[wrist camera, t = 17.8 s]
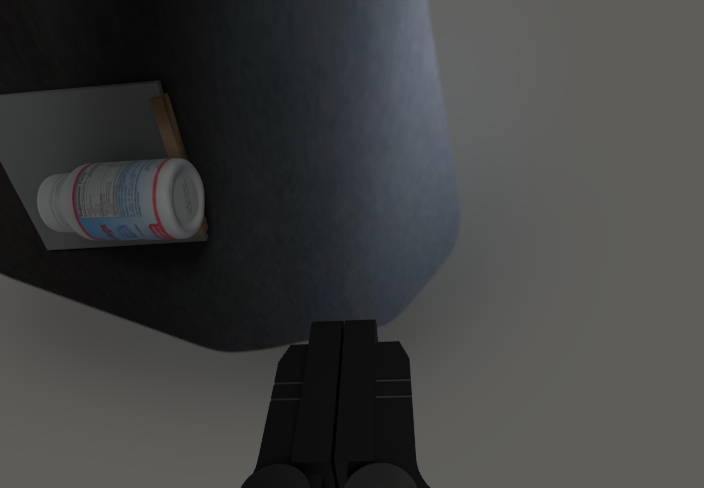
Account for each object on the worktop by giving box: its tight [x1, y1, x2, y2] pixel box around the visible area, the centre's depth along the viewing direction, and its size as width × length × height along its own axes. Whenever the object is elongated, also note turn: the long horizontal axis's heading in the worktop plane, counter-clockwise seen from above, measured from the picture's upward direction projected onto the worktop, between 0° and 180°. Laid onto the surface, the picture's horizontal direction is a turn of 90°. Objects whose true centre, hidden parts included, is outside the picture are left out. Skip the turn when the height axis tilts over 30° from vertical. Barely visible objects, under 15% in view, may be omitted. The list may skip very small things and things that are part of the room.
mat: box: [0, 80, 208, 250], centre depth 42 cm, size 14×15×1 cm
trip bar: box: [149, 93, 209, 235], centre depth 41 cm, size 12×1×1 cm, turn 6°
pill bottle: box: [37, 158, 205, 241], centre depth 39 cm, size 6×6×11 cm
